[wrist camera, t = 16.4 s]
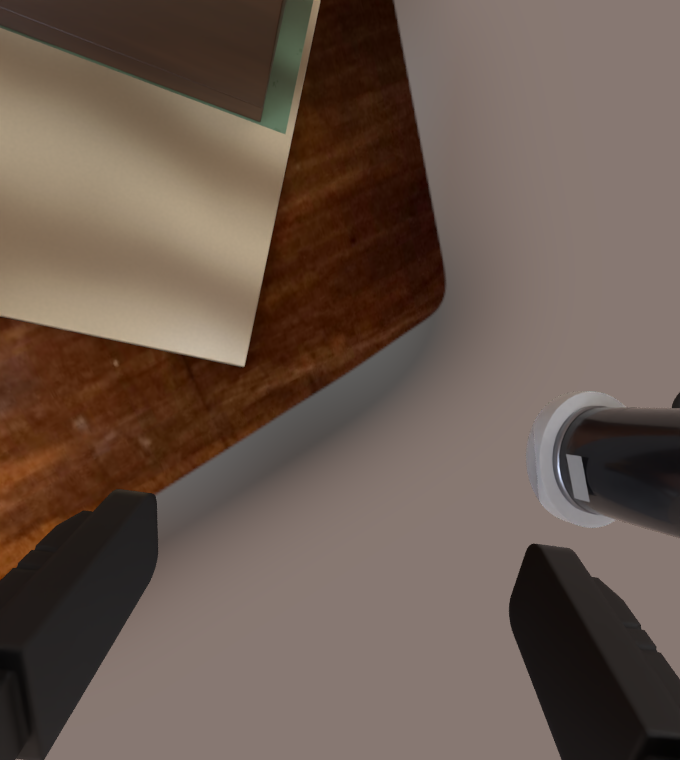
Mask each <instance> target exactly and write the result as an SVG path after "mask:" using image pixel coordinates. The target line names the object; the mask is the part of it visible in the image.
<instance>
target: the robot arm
mask: <svg viewBox="0 0 680 760" xmlns="http://www.w3.org/2000/svg"><path fill="white" fill-rule="evenodd" d="M552 462H553V472H554V476H555V480H556V483H557V485H558V487H559V489H560V491H561V493H562V495H563V496H564V497H565V499H566V500H567V501H568V502H569V503H570V504H571V505H573V506H574V507H575V508H577V509H579V510H581V511H584V512H587V513H591V514H595V515H602V516H605V517H609V518H612V519H616V520H619V521H622V522H625V523H629V524H632V525H636V526H639V527H642V528H646V529H650V530H653V531H656V532H660V533H663V534H667V535H670V536H673V537H677V538H680V393H679V394H678V395H677V397H676V398H675V400H674V402H673V404H672V408H635V407H606V406H587V407H583V408H581V409H579V410H577V411H575V412H574V413H572V414H571V415H570V416H569V417H568V418H567V419H566V420H565V422H564V423H563V424H562V426H561V428H560V429H559V432H558V434H557V436H556V439H555V443H554V447H553V457H552ZM157 557H158V531H157V501H156V497H155V495H154V494H152V493H145V492H137V491H129V490H121V489H116V490H114V491H113V492H111V493H110V494H109V495H108V497H107V498H106V499H105V500H104V501H103V502H102V503H101V504H100V505H99V506H98V507H97V508H96V509H95V510H94V511H93V512H91V511H82V512H80V513H78V514H76V515H75V516H73V517H71V518H69V519H68V520H66V521H64V522H62V523H61V524H59V525H57V526H56V527H55V528H54V529H53V530H52V531H51V532H50V533H49V534H48V535H47V536H45V537H44V538H43V539H42V540H41V541H40V542H39V543H38V544H37V545H36V548H35V550H31V551H30V552H29V553H28V554H27V555H26V556H25V557H24V558H23V559H22V560H21V561H20V562H19V563H18V566H17V568H13V569H12V570H11V571H10V572H9V573H8V574H7V575H6V576H5V577H4V578H2V579H1V580H0V760H15V759H23V760H44V759H45V757H46V756H47V754H48V752H49V751H50V749H51V747H52V746H53V744H54V742H55V740H56V739H57V737H58V735H59V733H60V732H61V730H62V729H63V727H64V725H65V724H66V722H67V720H68V718H69V717H70V715H71V714H72V712H73V710H74V709H75V707H76V705H77V703H78V702H79V700H80V698H81V697H82V695H83V693H84V692H85V690H86V688H87V687H88V685H89V683H90V682H91V680H92V678H93V677H94V675H95V673H96V672H97V670H98V668H99V666H100V665H101V663H102V661H103V660H104V658H105V656H106V655H107V653H108V651H109V650H110V648H111V646H112V645H113V643H114V641H115V640H116V638H117V636H118V635H119V633H120V631H121V629H122V628H123V626H124V624H125V623H126V621H127V619H128V618H129V616H130V614H131V613H132V611H133V609H134V608H135V606H136V604H137V602H138V601H139V599H140V597H141V596H142V594H143V592H144V590H145V589H146V587H147V586H148V584H149V582H150V580H151V578H152V575H153V573H154V570H155V567H156V563H157ZM509 617H510V624H511V628H512V631H513V634H514V637H515V639H516V642H517V644H518V647H519V650H520V652H521V655H522V658H523V660H524V663H525V665H526V668H527V670H528V673H529V676H530V678H531V681H532V683H533V686H534V689H535V691H536V694H537V697H538V699H539V702H540V704H541V707H542V710H543V712H544V715H545V717H546V720H547V722H548V725H549V728H550V731H551V733H552V736H553V738H554V741H555V743H556V746H557V749H558V751H559V754H560V757H561V759H562V760H680V679H679V678H678V676H677V675H676V674H675V672H674V671H673V669H672V668H671V667H670V665H669V664H668V662H667V661H666V660H665V658H664V657H663V655H662V654H661V653H659V652H657V650H656V646H655V644H654V643H653V641H652V640H651V639H650V637H649V636H648V635H647V633H646V632H645V630H641V625H640V623H639V622H638V620H637V619H636V618H635V616H634V615H633V613H632V612H631V611H630V609H629V608H628V606H627V605H626V604H625V602H624V601H623V600H622V599H621V598H620V597H619V596H618V595H617V594H616V593H614V592H613V591H612V590H611V589H610V588H609V587H608V586H607V585H605V584H604V583H603V582H602V581H601V580H600V579H599V578H595V577H591V576H590V574H589V573H588V571H587V570H586V568H585V567H584V565H583V564H582V562H581V561H580V559H579V558H578V556H577V555H576V554H575V552H574V551H573V550H571V549H570V548H564V547H556V546H548V545H540V544H531V545H530V546H529V547H528V548H527V551H526V553H525V556H524V559H523V562H522V565H521V568H520V571H519V574H518V577H517V580H516V583H515V586H514V589H513V592H512V595H511V598H510V603H509Z"/></svg>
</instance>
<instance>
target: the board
mask: <svg viewBox="0 0 680 760" xmlns="http://www.w3.org/2000/svg"><path fill="white" fill-rule="evenodd" d="M320 1H321V0H287V1H286V6H285V10H284V15H283V20H282V24H281V29H280V34H279V38H278V43H277V48H276V52H275V57H274V62H273V66H272V71H271V75H270V80H269V85H268V89H267V94H266V99H265V103H264V108H263V113H262V117H261V122H258V121H255V120H252V119H250V118H247V117H244V116H242V115H239V114H236V113H234V112H231V111H228V110H226V109H223V108H220V107H218V106H215V105H212V104H210V103H207V102H204V101H202V100H199V99H196V98H194V97H191V96H188V95H186V94H183V93H180V92H178V91H175V90H172V89H170V88H167V87H164V86H162V85H159V84H156V83H154V82H151V81H148V80H146V79H143V78H140V77H138V76H135V75H132V74H130V73H127V72H124V71H122V70H119V69H116V68H114V67H111V66H108V65H106V64H103V63H100V62H98V61H95V60H92V59H90V58H87V57H84V56H81V55H79V54H76V53H73V52H71V51H68V50H65V49H63V48H60V47H57V46H55V45H52V44H49V43H47V42H44V41H41V40H39V39H36V38H33V37H31V36H28V35H25V34H23V33H20V32H17V31H15V30H12V29H9V28H7V27H4V26H1V25H0V317H4V318H9V319H14V320H18V321H23V322H28V323H33V324H38V325H42V326H47V327H52V328H57V329H61V330H66V331H71V332H76V333H81V334H85V335H90V336H95V337H100V338H104V339H109V340H114V341H119V342H124V343H128V344H133V345H138V346H143V347H147V348H152V349H157V350H162V351H167V352H171V353H176V354H181V355H186V356H190V357H195V358H200V359H205V360H210V361H214V362H219V363H224V364H229V365H234V366H238V367H244V366H245V362H246V358H247V353H248V348H249V343H250V338H251V334H252V329H253V324H254V319H255V314H256V309H257V305H258V300H259V295H260V290H261V285H262V280H263V276H264V271H265V266H266V261H267V256H268V252H269V247H270V242H271V237H272V232H273V227H274V223H275V218H276V213H277V208H278V203H279V199H280V194H281V189H282V184H283V179H284V174H285V170H286V165H287V160H288V155H289V150H290V146H291V141H292V136H293V131H294V126H295V121H296V117H297V112H298V107H299V102H300V97H301V92H302V88H303V83H304V78H305V73H306V68H307V64H308V59H309V54H310V49H311V44H312V39H313V35H314V30H315V25H316V20H317V15H318V11H319V6H320Z"/></svg>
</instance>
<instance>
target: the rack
mask: <svg viewBox="0 0 680 760" xmlns="http://www.w3.org/2000/svg"><path fill="white" fill-rule="evenodd" d="M286 1H287V0H0V25H1V26H4V27H7V28H9V29H12V30H15V31H17V32H20V33H23V34H25V35H28V36H31V37H33V38H36V39H39V40H41V41H44V42H47V43H49V44H52V45H55V46H57V47H60V48H63V49H65V50H68V51H71V52H73V53H76V54H79V55H81V56H84V57H87V58H90V59H92V60H95V61H98V62H100V63H103V64H106V65H108V66H111V67H114V68H116V69H119V70H122V71H124V72H127V73H130V74H132V75H135V76H138V77H140V78H143V79H146V80H148V81H151V82H154V83H156V84H159V85H162V86H164V87H167V88H170V89H172V90H175V91H178V92H180V93H183V94H186V95H188V96H191V97H194V98H196V99H199V100H202V101H204V102H207V103H210V104H212V105H215V106H218V107H220V108H223V109H226V110H228V111H231V112H234V113H236V114H239V115H242V116H244V117H247V118H250V119H252V120H255V121H258V122H261V117H262V113H263V108H264V103H265V99H266V94H267V89H268V85H269V80H270V75H271V71H272V66H273V62H274V57H275V52H276V48H277V43H278V38H279V34H280V29H281V24H282V20H283V15H284V10H285V6H286Z"/></svg>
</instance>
